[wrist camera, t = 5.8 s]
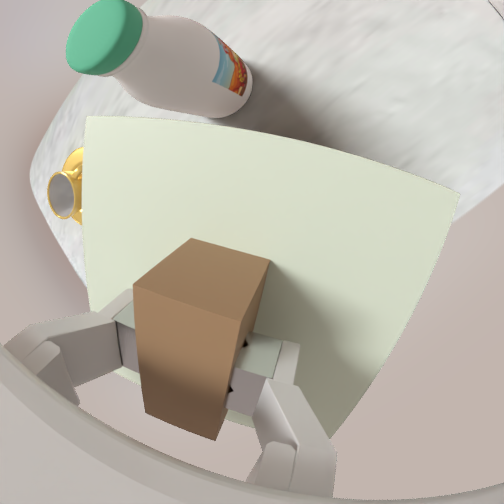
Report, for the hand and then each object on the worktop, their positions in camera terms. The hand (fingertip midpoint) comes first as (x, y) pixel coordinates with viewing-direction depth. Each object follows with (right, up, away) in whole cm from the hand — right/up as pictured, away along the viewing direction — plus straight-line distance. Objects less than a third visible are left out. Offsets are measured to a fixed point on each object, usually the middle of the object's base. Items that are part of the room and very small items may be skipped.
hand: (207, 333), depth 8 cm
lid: (0, +1, +2) cm, 2 cm away
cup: (-23, +12, +28) cm, 38 cm away
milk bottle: (-2, +20, +19) cm, 28 cm away
